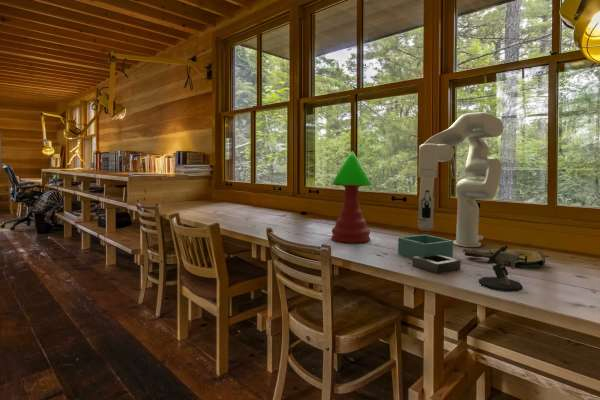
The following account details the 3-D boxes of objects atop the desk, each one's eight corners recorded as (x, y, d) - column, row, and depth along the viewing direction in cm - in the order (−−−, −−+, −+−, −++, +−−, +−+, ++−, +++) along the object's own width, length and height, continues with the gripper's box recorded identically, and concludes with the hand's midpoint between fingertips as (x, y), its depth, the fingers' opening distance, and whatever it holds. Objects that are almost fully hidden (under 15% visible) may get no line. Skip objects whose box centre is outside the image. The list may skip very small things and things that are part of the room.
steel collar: (434, 262, 153) (435, 253, 153) (460, 269, 143) (460, 260, 142) (412, 265, 147) (412, 256, 147) (437, 274, 137) (437, 264, 137)
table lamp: (374, 237, 202) (376, 150, 198) (364, 245, 184) (366, 149, 180) (338, 234, 210) (339, 151, 206) (325, 241, 192) (326, 150, 188)
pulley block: (466, 239, 165) (549, 247, 151) (466, 252, 167) (548, 261, 152) (462, 251, 153) (552, 261, 139) (462, 265, 155) (551, 276, 141)
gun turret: (469, 272, 139) (471, 237, 137) (531, 286, 124) (533, 246, 122) (451, 279, 130) (453, 242, 129) (515, 295, 115) (518, 253, 114)
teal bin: (424, 249, 175) (424, 234, 174) (452, 257, 161) (453, 240, 160) (397, 253, 167) (398, 237, 167) (425, 261, 154) (426, 244, 153)
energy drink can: (415, 228, 165) (416, 193, 164) (427, 227, 167) (428, 193, 165) (423, 230, 159) (424, 194, 158) (435, 230, 161) (437, 194, 160)
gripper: (418, 173, 170) (416, 213, 172) (418, 174, 154) (416, 219, 155) (436, 173, 168) (434, 214, 170) (438, 174, 152) (436, 220, 153)
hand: (426, 216), depth 163 cm, fingers closed on energy drink can, 6 cm apart
